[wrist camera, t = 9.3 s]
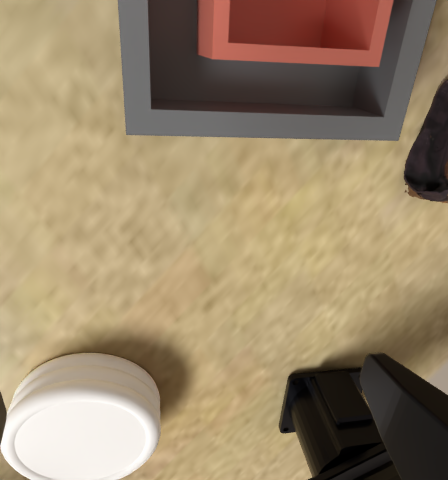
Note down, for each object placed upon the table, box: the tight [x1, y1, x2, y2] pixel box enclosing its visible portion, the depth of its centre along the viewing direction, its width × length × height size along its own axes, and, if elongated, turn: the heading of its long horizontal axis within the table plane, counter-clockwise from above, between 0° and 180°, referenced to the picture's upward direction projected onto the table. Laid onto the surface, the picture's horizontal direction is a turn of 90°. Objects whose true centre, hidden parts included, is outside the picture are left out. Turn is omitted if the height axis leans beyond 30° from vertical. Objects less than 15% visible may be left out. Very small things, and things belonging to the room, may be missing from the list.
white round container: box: [0, 353, 161, 480], centre depth 26 cm, size 10×10×4 cm
